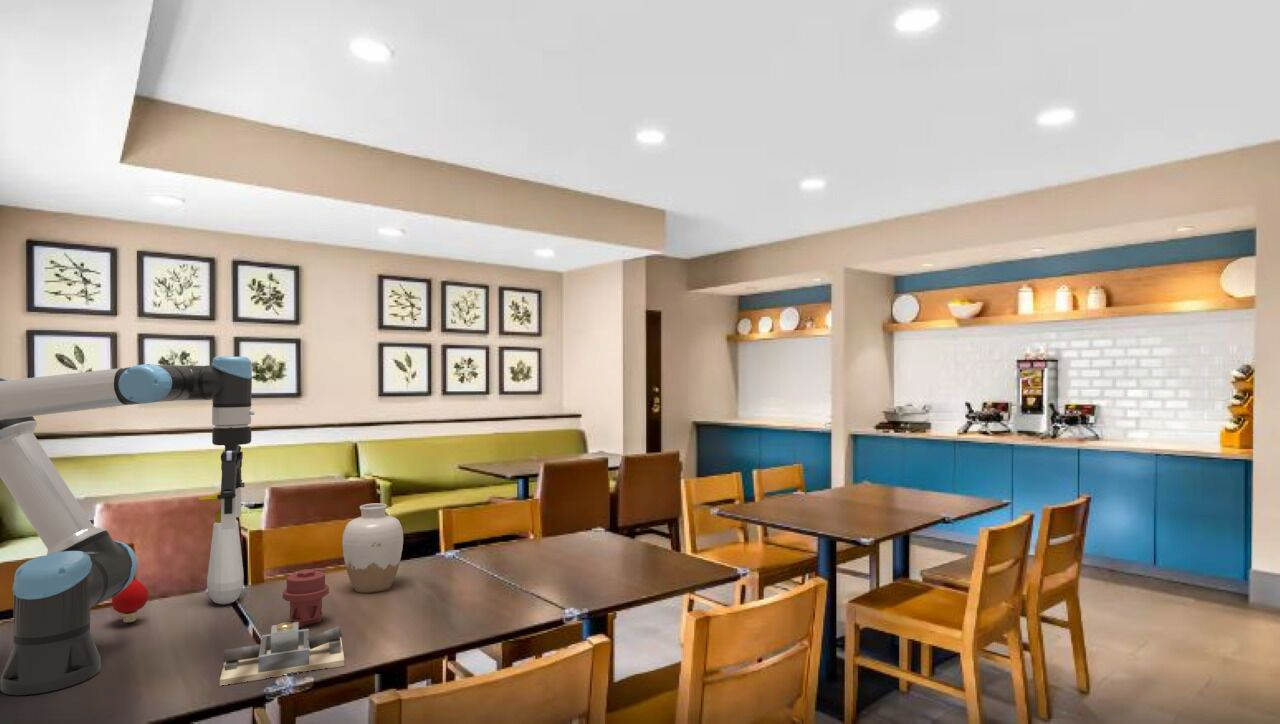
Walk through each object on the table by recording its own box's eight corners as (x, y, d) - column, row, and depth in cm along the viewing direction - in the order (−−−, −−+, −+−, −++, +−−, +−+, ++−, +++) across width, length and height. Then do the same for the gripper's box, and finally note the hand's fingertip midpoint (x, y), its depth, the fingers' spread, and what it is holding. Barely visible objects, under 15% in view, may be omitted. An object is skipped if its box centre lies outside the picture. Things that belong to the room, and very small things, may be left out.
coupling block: (270, 663, 144) (270, 630, 144) (271, 654, 149) (271, 622, 149) (298, 659, 146) (298, 626, 146) (298, 650, 151) (298, 619, 151)
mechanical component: (337, 617, 175) (310, 632, 165) (301, 614, 177) (272, 629, 167) (337, 566, 175) (311, 578, 165) (301, 564, 177) (273, 575, 167)
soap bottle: (195, 599, 189) (196, 489, 189) (240, 592, 195) (240, 485, 195) (200, 612, 179) (200, 495, 179) (246, 604, 185) (247, 491, 185)
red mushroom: (152, 624, 170) (152, 582, 170) (116, 632, 165) (117, 588, 165) (142, 615, 177) (142, 574, 177) (107, 622, 172) (108, 580, 172)
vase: (381, 576, 210) (381, 498, 210) (414, 585, 201) (415, 504, 201) (330, 589, 197) (330, 506, 197) (364, 600, 188) (364, 513, 188)
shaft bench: (219, 686, 136) (219, 654, 137) (226, 659, 149) (226, 630, 149) (344, 665, 146) (344, 636, 146) (341, 642, 158) (341, 615, 159)
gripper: (247, 429, 148) (246, 532, 148) (254, 422, 171) (254, 511, 170) (205, 431, 145) (204, 536, 145) (218, 423, 168) (217, 514, 167)
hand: (231, 523), depth 158 cm, fingers open, 13 cm apart
